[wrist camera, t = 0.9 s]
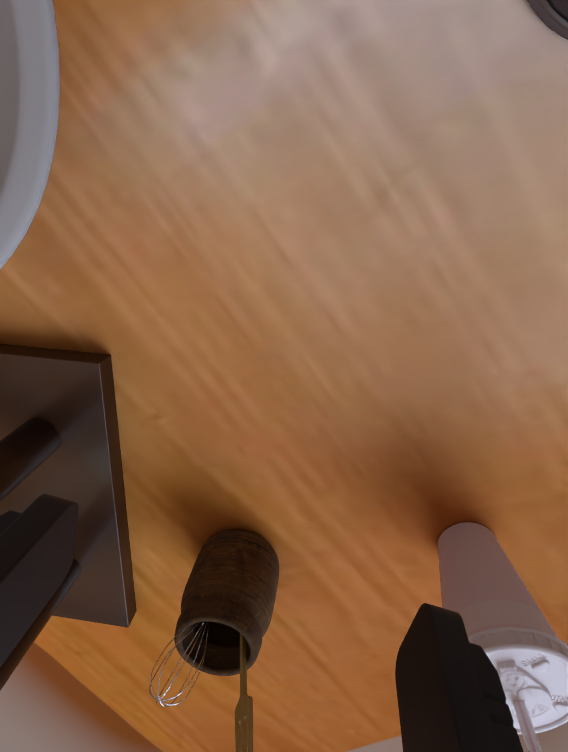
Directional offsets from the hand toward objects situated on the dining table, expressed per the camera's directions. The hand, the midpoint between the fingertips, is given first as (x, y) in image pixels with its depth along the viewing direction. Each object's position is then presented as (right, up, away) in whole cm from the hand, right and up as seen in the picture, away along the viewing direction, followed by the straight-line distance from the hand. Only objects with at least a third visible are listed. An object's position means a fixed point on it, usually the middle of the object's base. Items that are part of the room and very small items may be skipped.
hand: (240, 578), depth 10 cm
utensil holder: (-2, -9, +23) cm, 25 cm away
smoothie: (+13, -6, +20) cm, 25 cm away
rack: (-15, -4, +23) cm, 27 cm away
